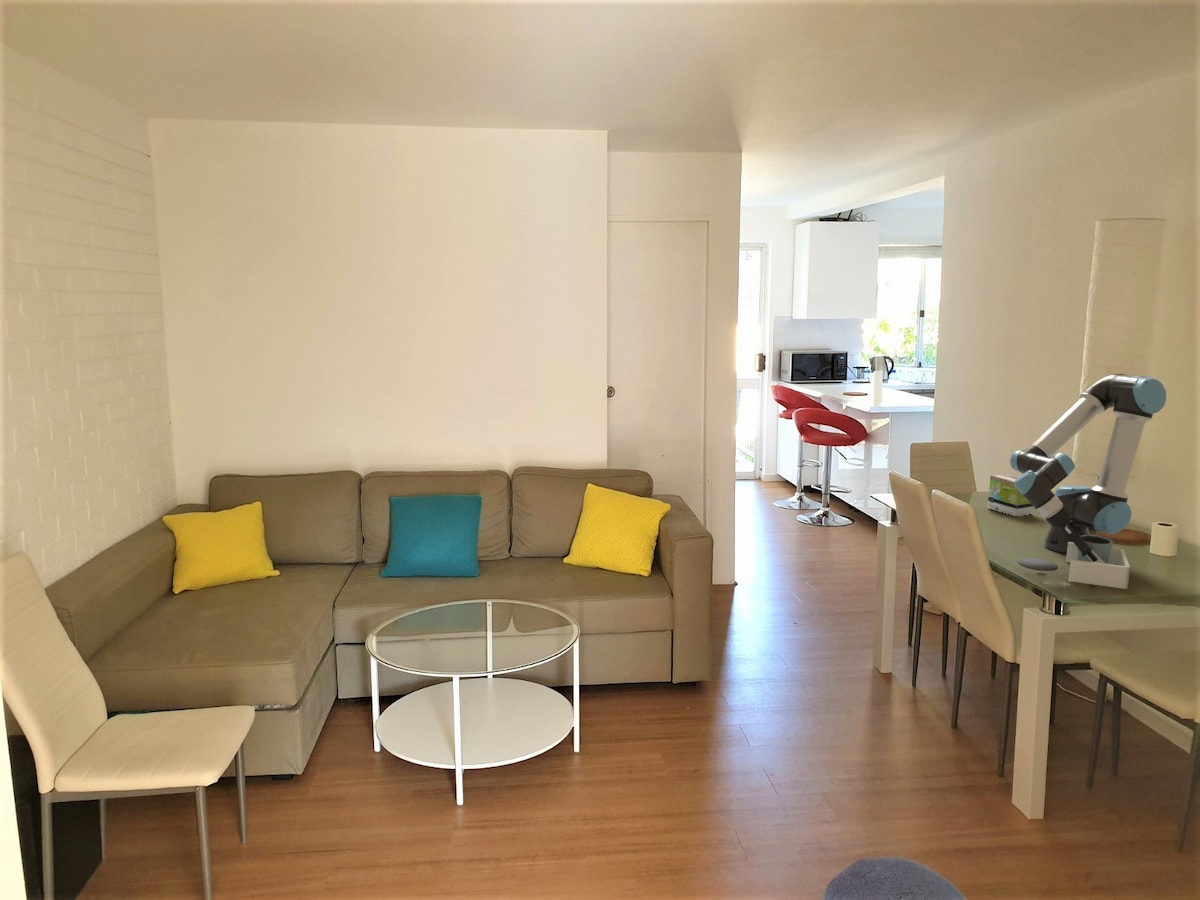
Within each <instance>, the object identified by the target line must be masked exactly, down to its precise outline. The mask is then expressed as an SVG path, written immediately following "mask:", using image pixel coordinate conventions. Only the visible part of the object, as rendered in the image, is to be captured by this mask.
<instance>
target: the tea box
mask: <svg viewBox="0 0 1200 900" xmlns="http://www.w3.org/2000/svg"><path fill="white" fill-rule="evenodd" d="M989 477H990V478H989V487H988V488H989V489H988V496H987V497H988V499H987V509H988V510H993V511H997V512H998V513H1002V512H1003V513H1002V514H1005V513H1006V514H1005V515H1008V514H1010V515H1009V516H1011V515H1013V516H1012V517H1014V516H1020V517H1023V516H1022V515H1027V514H1032V515H1033V510H1034V506H1033V505H1032V504H1031V503H1030V502H1029V501H1028V500H1027V499H1026V498H1025V497H1024V496H1023V495H1022V494H1021V493H1020V492H1019V490H1018V489H1017V488H1016V487H1015V485H1014V482H1015V480H1016V479H1017V478H1018V477H1019V476H1016V475H1012V474H1009V473H1004V474H997V475H990V476H989ZM1027 516H1028V515H1027Z"/></svg>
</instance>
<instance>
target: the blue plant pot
mask: <svg viewBox="0 0 1200 900" xmlns="http://www.w3.org/2000/svg"><path fill="white" fill-rule="evenodd" d="M1081 537H1082V539H1083V540H1084V541H1085V542H1086V544H1087V545H1088V546H1089V547H1090V548H1091V549H1092V550H1093V551H1094V552H1095V553H1096V554H1097V555H1098V556H1099V557H1100V558H1101V559H1102V560H1103V562H1104V563H1105V564H1108V562H1109V556H1110V553H1111V548H1112V547H1113V540H1112V539H1110V538H1107V537H1105V536H1100V535H1093V534H1089V535H1081ZM1086 549H1087V548H1086ZM1084 550H1085V549H1084ZM1077 551H1078V555H1077V560H1079V561H1087V562H1091V561H1090V560H1089V559H1088V558H1087V557H1086V556H1082V555H1081V554H1082V552H1081V551H1080V550H1079V549H1077Z"/></svg>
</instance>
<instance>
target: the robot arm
mask: <svg viewBox="0 0 1200 900" xmlns="http://www.w3.org/2000/svg"><path fill="white" fill-rule="evenodd" d="M1078 397H1079V399H1078V400H1077V401H1076V402H1075V403H1074V404H1073V405H1072V406H1071V407H1070V408H1069V409H1068V410H1067V411H1066V412H1065V413H1063V415H1061V416H1060V417H1059V418H1058V419H1057V420H1055V422H1054V423H1053V424H1052V425H1051V426H1050V427H1048V429H1046V430H1045V432H1043V433H1042V434H1041V435H1040V436H1039V437H1038V438H1037V439H1036V440H1035V441H1034V442H1033V443H1032V444H1031V445H1030V446H1029V447H1027V448H1026V449H1025V450H1024V449H1020V450H1016V451H1014V452H1013V453H1012V454H1011V455H1010V458H1009V465H1010V466H1011V468H1012V469H1013V470H1015V472H1016V471H1017V472H1018V473H1021V475H1019V476H1017V477H1018V478H1017V479H1016V480H1015V482H1014V485H1015V487H1016V488H1017V489H1018V490H1019V492H1020V493H1021V494H1022V495H1023V496H1024V497H1025V498H1026V499H1027V500H1028V501H1029V502H1030V503H1031V504H1032V505H1033V509H1035V510H1036V514H1040V515H1041V516H1042V518H1045V521H1046V522H1047V523H1048V524H1049V526H1050V529H1049V531H1048V533H1047V534H1046V537H1044V544H1043V545H1044V547H1045V548H1046V549H1049V550H1051V551H1054V552H1057V553H1063V554H1067V548H1068V542H1073V543H1074V544H1075V545H1076V546H1077V547H1078V549H1079V550H1080V551H1081V552H1082V554H1081V555H1082V556H1086V557H1087V558H1088V559H1089V560H1090V561H1091V562H1095V563H1103V564H1105V563H1104V562H1103V560H1102V559H1101V558H1100V557H1099V556H1098V555H1097V554H1096V553H1095V552H1094V551H1093V550H1092V549H1091V548H1090V547H1089V546H1088V545H1087V544H1086V542H1085V541H1084V540H1083V539H1082V537H1081V535H1090V532H1089V528H1090V529H1092V530H1096V531H1097V532H1101V533H1106V534H1110V535H1111V534H1118V533H1119V532H1121V531H1122V530H1124V529H1125V528H1127V526H1128V525H1129V523H1130V522H1131V519H1132V515H1133V513H1132V510H1131V506H1130V505H1129V503H1127V502H1128V499H1129V496H1128V494H1127V493H1126V488H1127V485H1128V481H1129V478H1130V475H1131V473H1132V471H1131V470H1132V467H1133V464H1134V461H1135V458H1136V455H1137V452H1138V448H1139V444H1140V441H1141V437H1142V434H1143V431H1144V427H1145V425H1146V423H1148V422H1150V421H1152V419H1153V416H1154V414H1156V413H1159V412H1160V411H1161V410H1162V409H1163V408H1164V407H1165V405H1166V402H1167V391H1166V388H1165V387H1164V384H1163V383H1162V381H1160V380H1159V379H1157V378H1154V377H1149V376H1145V375H1142V376H1141V375H1133V374H1125V373H1114V374H1113V373H1112V374H1110V375H1106V376H1105V377H1102V378H1101V379H1098V380H1097V381H1095V382H1094V383H1092V384H1091V385H1090V386H1088V387H1087V388H1086V389H1085V390H1084V391H1083V392H1082V393H1080V394H1079V396H1078ZM1111 408H1113V410H1112V413H1113V414H1114V416H1115V420H1114V425H1113V428H1112V431H1111V434H1110V438H1109V441H1108V445H1107V449H1106V451H1105V455H1104V458H1103V462H1102V465H1101V468H1100V473H1099V476H1098V479H1097V483H1096V485H1094V486H1092V487H1091V486H1085V485H1061V486H1058V485H1059V483H1061V482H1062V481H1063V480H1065V479H1066V478H1067V477H1069V475H1070V474H1071V473H1072V472H1073V471H1075V468H1076V465H1075V463H1074V461H1073V459H1072V458H1071V457H1070V456H1069V455H1067V454H1066V453H1063V452H1059V451H1060V449H1062V448H1063V447H1064V446H1065V445H1066V444H1067V443H1069V441H1070V440H1072V438H1073V437H1074V436H1076V434H1077V433H1079V432H1080V431H1081V430H1082V429H1083V428H1084V427H1085V426H1086V425H1088V423H1089V422H1091V420H1093V419H1094V418H1095V417H1096V416H1097V415H1101V414H1103V413H1105V412H1106V411H1107V410H1108V409H1111ZM1056 486H1058V487H1057V488H1055V487H1056ZM1054 488H1055V493H1054V492H1053V491H1052V490H1053V489H1054ZM1086 548H1087V549H1086ZM1084 549H1085V550H1084Z"/></svg>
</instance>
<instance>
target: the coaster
mask: <svg viewBox="0 0 1200 900" xmlns="http://www.w3.org/2000/svg"><path fill="white" fill-rule="evenodd" d="M1017 564H1019V565H1020V566H1022V567H1025V568H1027V567H1028V569H1031V570H1038V571H1039V570H1040V571H1052V570H1053V571H1054V570H1056V569H1057V568H1058V564H1057V563H1055V562H1053V561H1051V560H1048V559H1043V558H1039V557H1038V558H1037V557H1021V558H1019V559H1018V560H1017Z"/></svg>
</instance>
